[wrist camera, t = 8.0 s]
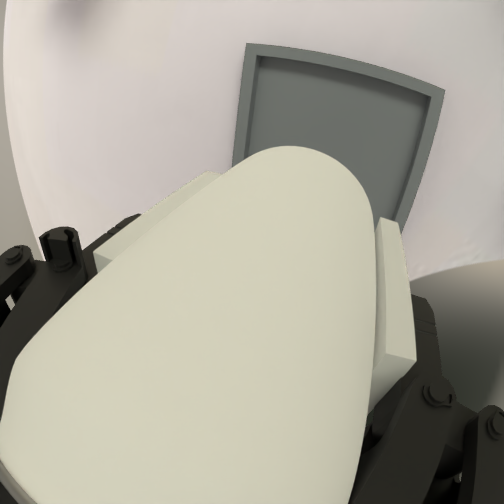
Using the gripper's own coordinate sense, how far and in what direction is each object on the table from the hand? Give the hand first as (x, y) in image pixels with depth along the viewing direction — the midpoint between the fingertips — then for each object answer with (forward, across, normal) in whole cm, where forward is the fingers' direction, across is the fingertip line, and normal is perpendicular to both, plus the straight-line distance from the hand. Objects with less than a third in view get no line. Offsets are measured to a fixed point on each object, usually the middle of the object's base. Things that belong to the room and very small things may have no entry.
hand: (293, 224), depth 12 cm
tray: (+15, 0, 0) cm, 15 cm away
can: (+1, 0, 0) cm, 1 cm away
